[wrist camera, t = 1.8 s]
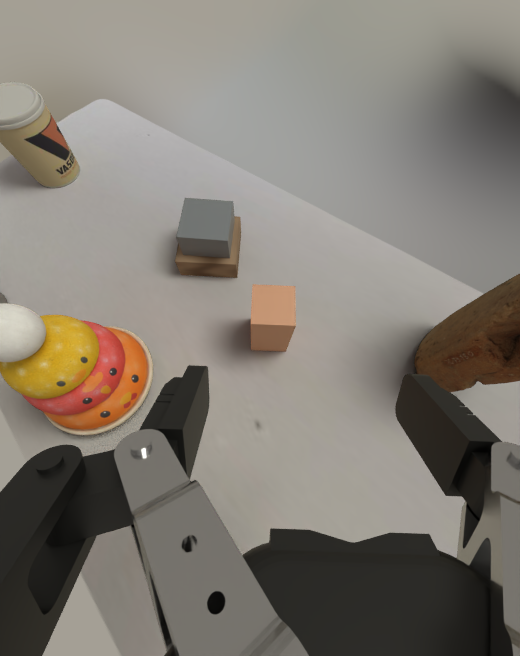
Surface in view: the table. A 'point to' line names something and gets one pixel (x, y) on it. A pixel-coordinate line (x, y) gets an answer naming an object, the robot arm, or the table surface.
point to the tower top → (206, 228)
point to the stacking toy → (74, 368)
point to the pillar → (272, 317)
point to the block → (476, 342)
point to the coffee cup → (35, 136)
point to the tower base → (212, 260)
